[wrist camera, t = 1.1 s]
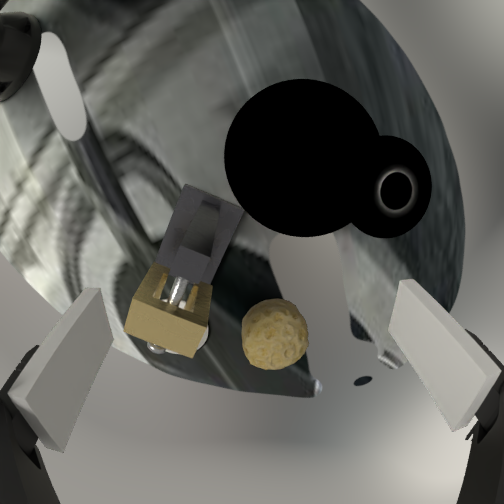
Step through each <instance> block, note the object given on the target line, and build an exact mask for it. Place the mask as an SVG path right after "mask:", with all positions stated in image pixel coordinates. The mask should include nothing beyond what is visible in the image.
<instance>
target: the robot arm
mask: <svg viewBox="0 0 504 504" xmlns="http://www.w3.org/2000/svg"><path fill="white" fill-rule="evenodd" d="M8 1H9V0H0V10H1V9H2V8H3V7H4V6H5V4H6V3H7V2H8ZM40 45H41V27H40V24H39V22H38V20H37V19H36V18H35V17H33V16H31V15H29V14H27V13H24V12H9V13H0V101H3V100H5V99H7V98H9V97H10V96H11V95H13V94H14V93H15V92H16V91H17V90H18V89H19V88H20V87H21V85H22V84H23V83H24V81H25V80H26V79H27V77H28V75H29V74H30V72H31V70H32V68H33V66H34V64H35V62H36V59H37V56H38V53H39V50H40ZM388 331H389V333H390V334H391V336H392V337H393V339H394V340H395V342H396V343H397V345H398V346H399V348H400V349H401V351H402V352H403V354H404V355H405V357H406V358H407V360H408V361H409V363H410V364H411V366H412V367H413V369H414V370H415V372H416V373H417V375H418V376H419V378H420V380H421V381H422V383H423V384H424V386H425V387H426V389H427V391H428V392H429V394H430V395H431V397H432V399H433V400H434V402H435V404H436V405H437V407H438V408H439V410H440V412H441V413H442V415H443V417H444V419H445V420H446V422H447V423H448V425H449V427H450V429H451V430H452V432H454V431H456V430H459V429H461V428H463V427H466V426H467V425H468V424H469V423H470V421H471V420H472V418H473V417H474V415H475V416H476V417H477V419H478V421H477V423H476V424H475V425H474V427H473V428H472V430H471V431H470V432H469V434H468V435H467V437H466V439H465V440H468V439H469V438H470V436H471V435H472V434H473V438H472V440H471V441H472V444H471V450H470V454H469V459H468V464H467V468H466V472H465V476H464V480H463V484H462V487H461V491H460V494H459V497H458V501H457V504H504V366H503V365H502V363H501V362H500V361H499V360H498V359H497V358H496V357H495V355H494V354H492V352H491V351H489V350H488V348H487V347H486V346H485V345H483V343H482V342H481V340H480V339H479V338H478V337H477V336H476V335H474V334H473V333H471V332H470V331H468V330H466V329H463V328H462V327H461V326H460V325H459V323H457V321H456V320H455V319H454V318H453V317H452V316H451V315H450V314H449V313H448V312H447V311H446V310H445V309H444V308H443V307H442V306H441V305H440V304H439V303H438V302H437V301H436V300H435V299H434V298H433V297H432V296H431V295H430V294H429V293H428V292H426V291H425V290H424V289H423V288H422V287H421V286H420V285H419V284H418V283H417V282H416V281H415V280H414V279H408V280H400V282H399V287H398V291H397V296H396V300H395V304H394V308H393V312H392V316H391V320H390V324H389V328H388ZM113 340H114V338H113V335H112V331H111V328H110V324H109V321H108V317H107V313H106V309H105V306H104V302H103V298H102V293H101V289H100V288H85V289H84V290H83V292H82V293H81V294H80V295H79V296H78V298H77V299H76V300H75V301H74V302H73V304H72V305H71V306H70V307H69V309H68V310H67V311H66V312H65V314H64V315H63V316H62V317H61V319H60V320H59V321H58V323H57V324H56V325H55V326H54V328H53V329H52V330H51V332H50V333H49V334H48V336H47V337H46V339H45V340H44V341H43V342H42V344H41V345H40V346H39V345H36V346H35V347H34V348H32V349H31V350H30V351H28V352H27V353H26V355H25V356H24V357H23V359H22V360H21V363H19V364H18V366H17V367H16V370H14V371H13V373H12V374H11V376H10V377H9V379H8V380H7V382H6V383H5V384H4V386H3V388H2V389H1V390H0V504H60V502H59V500H58V497H57V495H56V493H55V490H54V488H53V486H52V484H51V481H50V478H49V476H48V473H47V471H46V468H45V465H44V463H43V460H42V457H41V454H40V451H39V449H38V448H37V446H36V445H35V444H36V442H37V440H38V438H39V439H40V441H41V442H42V443H43V444H44V446H45V447H46V448H49V449H52V450H56V451H59V452H62V453H64V450H65V447H66V445H67V442H68V440H69V437H70V435H71V432H72V430H73V428H74V425H75V423H76V420H77V418H78V416H79V413H80V411H81V408H82V406H83V404H84V402H85V399H86V397H87V395H88V393H89V391H90V388H91V386H92V384H93V382H94V380H95V377H96V375H97V373H98V371H99V369H100V367H101V365H102V363H103V361H104V359H105V357H106V354H107V352H108V350H109V348H110V346H111V344H112V342H113Z"/></svg>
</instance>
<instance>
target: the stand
mask: <svg viewBox="0 0 504 504" xmlns="http://www.w3.org/2000/svg"><path fill="white" fill-rule="evenodd" d="M243 212H244V209H243V208H241V207H239V206H236V205H234V204H232V203H229V202H227V201H225V200H222V199H220V198H218V197H215V196H213V195H211V194H208V193H206V192H204V191H201V190H199V189H197V188H194V187H192V186H189V185H187V184H185V185H184V187H183V189H182V192H181V194H180V197H179V199H178V202H177V204H176V207H175V209H174V212H173V215H172V217H171V220H170V222H169V225H168V228H167V230H166V233H165V236H164V238H163V241H162V244H161V246H160V249H159V252H158V255H157V258H156V261H155V262H156V263H158V264H160V265H163V266H165V267H168V268H170V272H169V275H171V276H174V277H176V279H175V281H174V284H173V286H172V289H171V292H170V294H169V297H168V300H167V303H169V304H172V305H174V306H177V307H179V304H180V302H181V299H182V297H183V295H184V292H185V290H186V287H187V285H188V283H191V284H193V285H194V283H196V284H199V282H200V281H202V282H204V283H207V284H209V285H210V283H211V281H212V279H213V277H214V275H215V272H216V270H217V268H218V266H219V264H220V262H221V259H222V257H223V255H224V253H225V251H226V249H227V246H228V244H229V242H230V240H231V238H232V236H233V234H234V232H235V229H236V227H237V225H238V223H239V221H240V219H241V217H242V215H243ZM147 346H148V348H149V350H150V351H152V352H154V353H156V354H162V353H164V352H165V351H166V348H163V347H160V346H158V345H155V344H153V343H150V342H148V344H147Z"/></svg>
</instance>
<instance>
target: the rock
mask: <svg viewBox="0 0 504 504" xmlns="http://www.w3.org/2000/svg"><path fill="white" fill-rule="evenodd" d="M307 338H308V331H307V324H306V321H305V319H304V318H303V316H302V315H301V314H300V313H299V311H298V309H297V308H296V305H294V304H292V303H291V302H289V301H287V300H284V299H279V298H277V299H270V300H264V301H261V302H259V303H258V304H256V305H254V306H253V307H251V309H249V311H248V312H247V314H246V315H245V316H244V318H243V320H242V340H243V344H242V346H243V349H244V352H245V356H246V357H247V358H248V360H249V361H250V364H252V365H254V366H256V367H259V368H262V369H265V370H267V369H274V370H276V369H281V368H285V367H286V366H289V365H291V364H294V363H295V362H296V361H297V360H299V359H300V358H301V356H302V355H303V354H304V353H305V351H306V349H307V347H308V344H309V342H308V339H307Z"/></svg>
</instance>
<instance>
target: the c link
mask: <svg viewBox="0 0 504 504" xmlns="http://www.w3.org/2000/svg"><path fill="white" fill-rule="evenodd" d="M169 272H170V268H168V267H165V266H163V265H160V264H158V263H156V262H154V263H153V264H152V266H151V268H150V269H149V271H148V273H147V274H146V276H145V278H144V279H143V281H142V283H141V285H140V286H139V288H138V290H137V292H136V293H135V295H134V297H133V299H132V302H131V306H130V309H129V313H128V316H127V320H126V324H125V327H124V332H126V333H128V334H131V335H133V336H135V337H138V338H140V339H143V340H145V341H148V342H150V343H153V344H155V345H158V346H160V347H163V348H166V349H168V350H171V351H174V352H176V353H179V354H182V355H185V356H187V357H190V358H193V356H194V354H195V352H196V350H197V348H198V346H199V343H200V341H201V339H202V337H203V335H204V333H205V331H206V329H207V324H208V316H209V309H210V301H211V294H212V287H213V286H212V285H209V284H207V283H204V282H202V281H200V282H199V284H196V283H194V285H193V287H192V289H191V292H190V294H189V296H188V299H187V301H186V304H185V306H184V309H182V308H180V307H177V306H174V305H172V304H169V303H167V302H165V301H162V300H160V296H161V293H162V291H163V288H164V285H165V282H166V280H167V277H168V274H169Z"/></svg>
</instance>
